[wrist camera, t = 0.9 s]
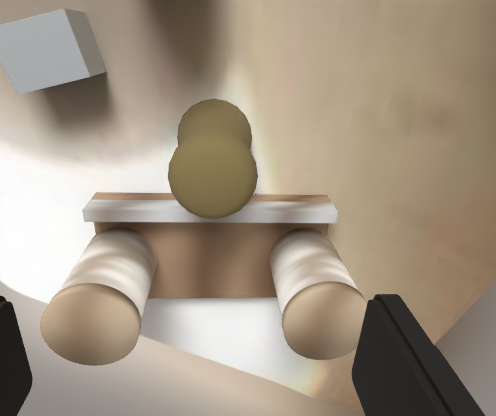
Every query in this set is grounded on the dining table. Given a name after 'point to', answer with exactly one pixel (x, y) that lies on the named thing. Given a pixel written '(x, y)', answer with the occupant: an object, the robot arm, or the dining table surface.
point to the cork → (213, 160)
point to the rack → (204, 272)
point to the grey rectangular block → (49, 50)
